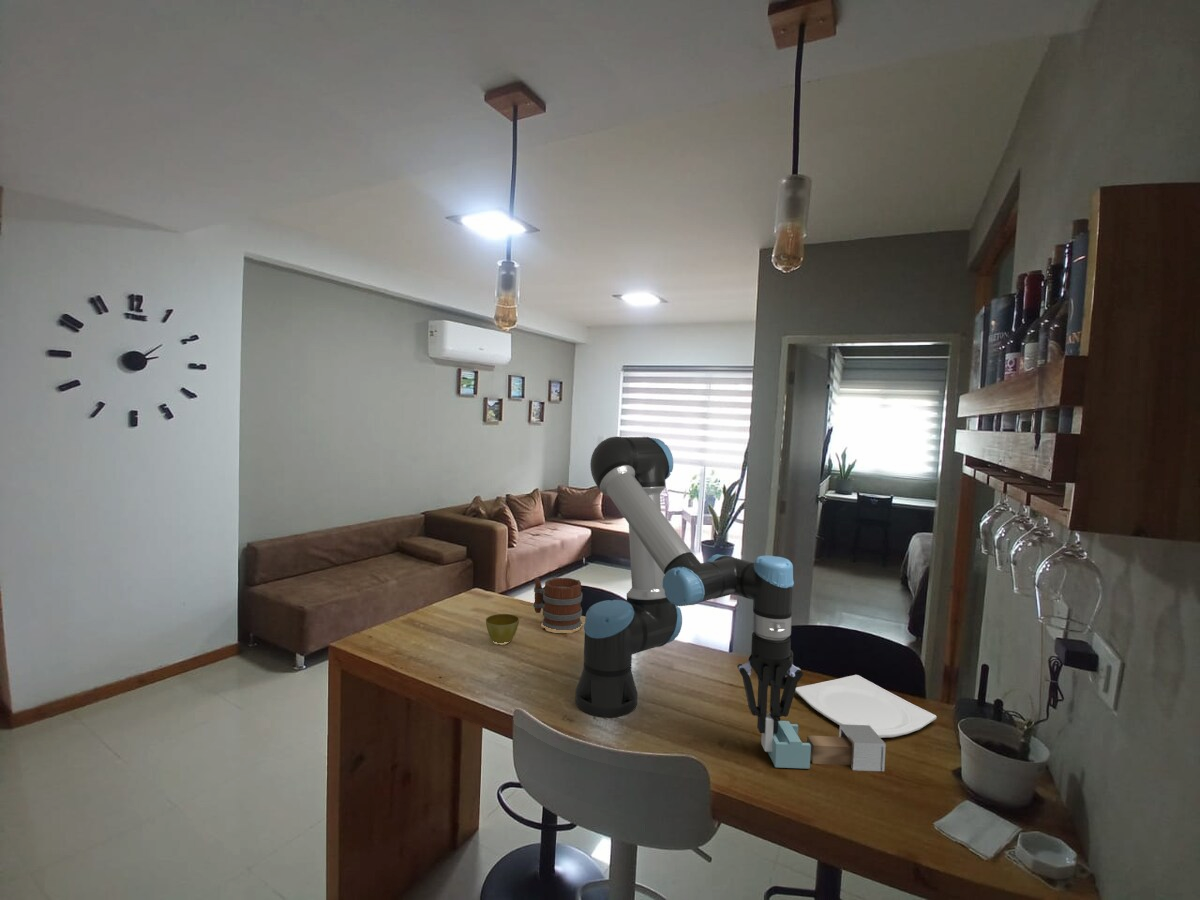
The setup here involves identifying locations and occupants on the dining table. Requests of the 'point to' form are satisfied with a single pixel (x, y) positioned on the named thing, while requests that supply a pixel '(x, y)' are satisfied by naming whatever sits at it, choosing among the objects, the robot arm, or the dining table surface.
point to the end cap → (864, 747)
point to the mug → (559, 603)
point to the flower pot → (502, 627)
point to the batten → (830, 750)
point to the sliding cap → (789, 748)
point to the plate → (865, 706)
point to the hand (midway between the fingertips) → (766, 747)
